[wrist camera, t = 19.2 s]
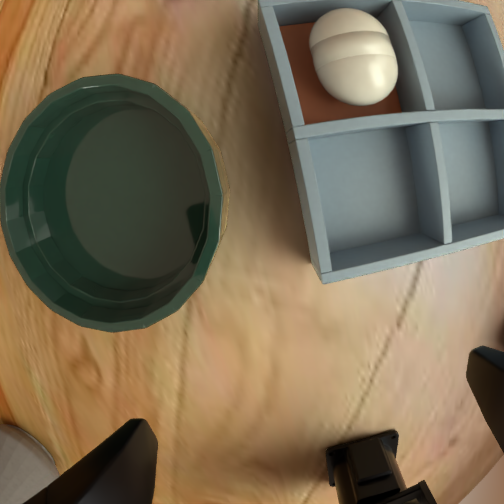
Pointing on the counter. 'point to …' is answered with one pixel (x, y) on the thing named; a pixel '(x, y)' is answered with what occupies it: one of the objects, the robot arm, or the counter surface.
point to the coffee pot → (23, 466)
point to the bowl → (113, 202)
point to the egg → (353, 56)
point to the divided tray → (394, 136)
